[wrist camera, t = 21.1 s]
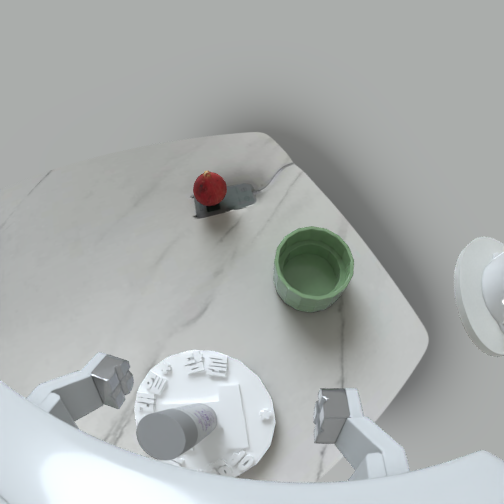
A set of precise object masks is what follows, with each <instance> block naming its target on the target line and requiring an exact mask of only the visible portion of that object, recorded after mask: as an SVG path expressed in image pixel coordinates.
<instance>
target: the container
mask: <svg viewBox="0 0 504 504" xmlns="http://www.w3.org/2000/svg"><path fill="white" fill-rule="evenodd" d="M216 425H217V416H216V413H215V412H214V410H213V409H212V408H211V407H209V406H207V405H205V404H201V403H197V404H191V405H186V406H181V407H176V408H171V409H167V410H163V411H159V412H155V413H151V414H148V415H146V416H144V417H143V418H142V419H141V420H140V422H139V423H138V426H137V431H136V434H137V439H138V442H139V444H140V446H141V447H142V449H143V450H144V451H145V452H146V453H147V454H148V455H150V456H152V457H153V458H156V459H159V460H172V459H175V458H177V457H178V456H180V455H181V454H183V453H185V452H186V451H188V450H189V449H191V448H193V447H194V446H195V445H196V444H198V443H199V442H200V441H202V440H203V439H204V438H205V437H206V436H208V435H209V434H210V433H211V432H212V431H213V430H214V429H215V428H216Z"/></svg>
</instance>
